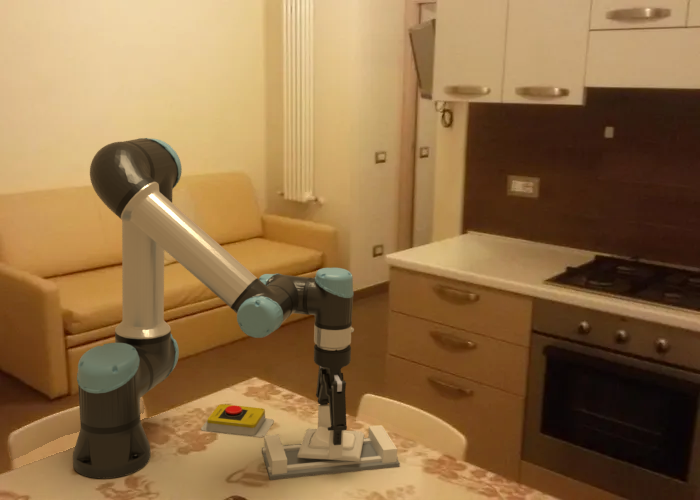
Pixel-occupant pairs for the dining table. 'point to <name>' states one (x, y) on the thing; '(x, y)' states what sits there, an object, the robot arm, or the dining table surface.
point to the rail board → (288, 465)
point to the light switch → (321, 445)
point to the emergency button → (238, 421)
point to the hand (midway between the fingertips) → (329, 444)
